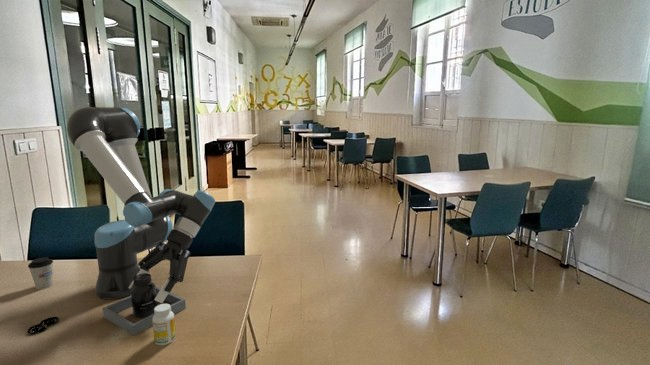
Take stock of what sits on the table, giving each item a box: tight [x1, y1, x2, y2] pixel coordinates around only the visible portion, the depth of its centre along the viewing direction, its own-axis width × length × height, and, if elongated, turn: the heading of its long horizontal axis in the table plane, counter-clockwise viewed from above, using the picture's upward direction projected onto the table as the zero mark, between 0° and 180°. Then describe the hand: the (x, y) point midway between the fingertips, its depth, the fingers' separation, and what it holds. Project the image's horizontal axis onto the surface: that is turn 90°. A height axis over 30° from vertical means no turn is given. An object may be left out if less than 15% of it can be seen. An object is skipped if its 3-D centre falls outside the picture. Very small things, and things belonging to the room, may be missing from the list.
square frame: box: [102, 286, 187, 336], centre depth 107 cm, size 17×17×3 cm
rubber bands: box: [27, 316, 59, 335], centre depth 101 cm, size 5×8×1 cm, turn 167°
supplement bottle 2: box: [152, 303, 177, 346], centre depth 94 cm, size 5×5×10 cm
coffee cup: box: [27, 256, 54, 290], centre depth 123 cm, size 7×7×10 cm
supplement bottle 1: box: [130, 273, 158, 319], centre depth 106 cm, size 7×7×12 cm
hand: (144, 295), depth 106 cm, fingers open, 13 cm apart
